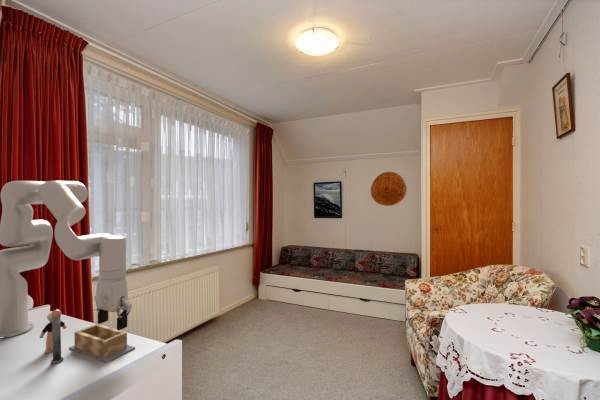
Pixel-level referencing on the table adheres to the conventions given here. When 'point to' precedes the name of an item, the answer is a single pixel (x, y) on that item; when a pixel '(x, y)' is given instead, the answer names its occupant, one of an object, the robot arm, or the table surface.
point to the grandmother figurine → (50, 334)
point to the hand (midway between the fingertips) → (112, 325)
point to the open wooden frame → (100, 340)
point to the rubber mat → (106, 359)
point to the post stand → (56, 337)
